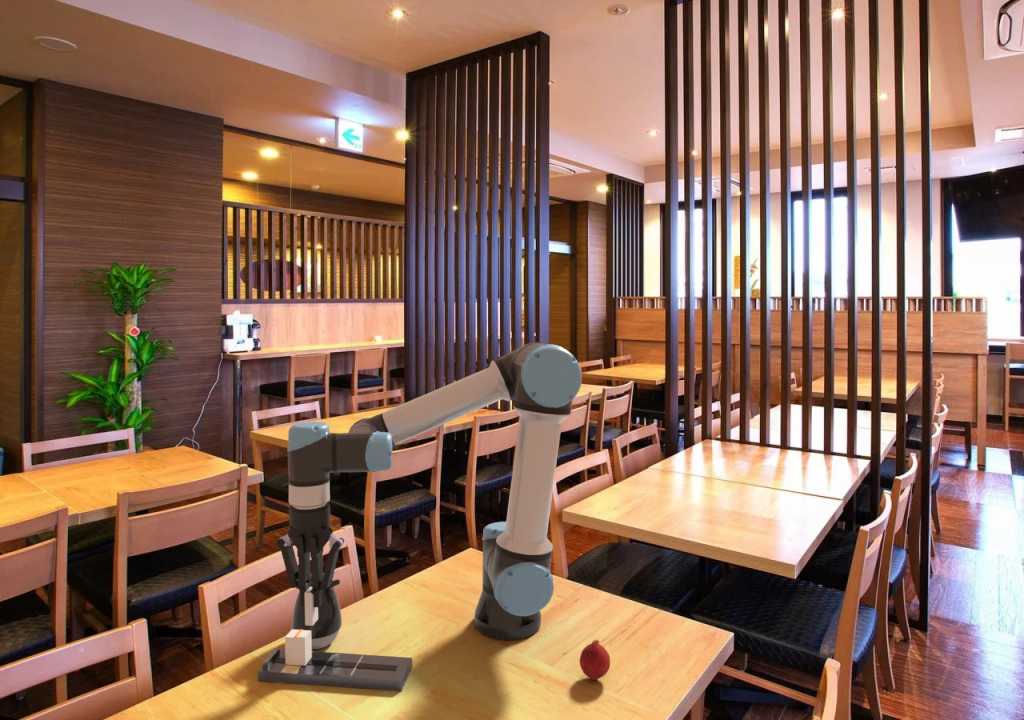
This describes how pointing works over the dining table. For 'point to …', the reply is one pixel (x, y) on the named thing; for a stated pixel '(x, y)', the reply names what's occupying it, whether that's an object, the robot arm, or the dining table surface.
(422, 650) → the dining table surface
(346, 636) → the dining table surface
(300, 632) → the fader knob
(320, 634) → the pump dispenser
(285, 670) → the console
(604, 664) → the onion
